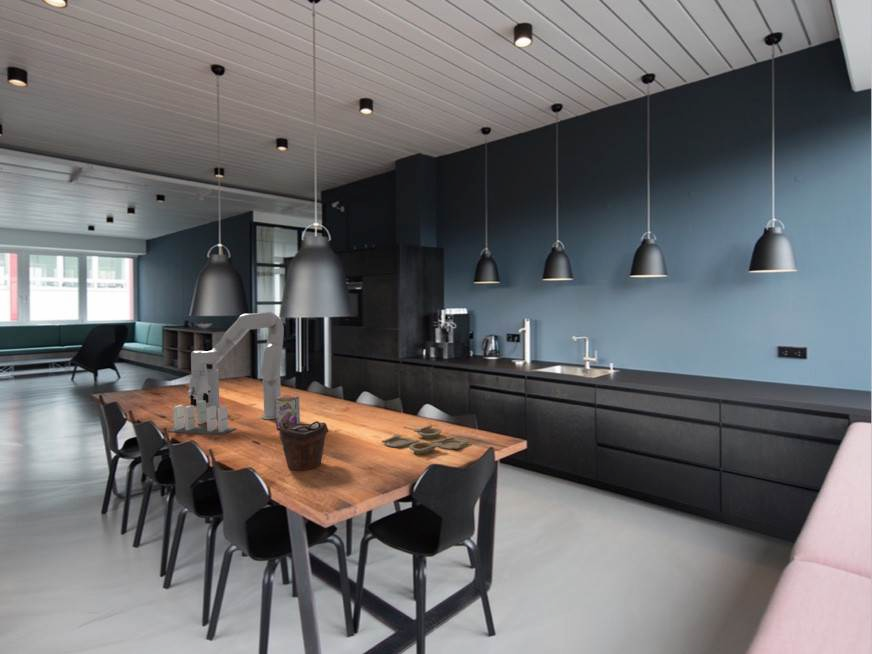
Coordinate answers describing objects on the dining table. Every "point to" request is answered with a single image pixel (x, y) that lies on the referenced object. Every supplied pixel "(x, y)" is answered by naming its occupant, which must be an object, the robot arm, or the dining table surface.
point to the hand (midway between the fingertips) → (199, 404)
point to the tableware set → (425, 446)
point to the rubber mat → (202, 430)
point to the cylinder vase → (212, 389)
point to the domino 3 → (201, 412)
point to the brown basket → (303, 444)
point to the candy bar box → (287, 410)
